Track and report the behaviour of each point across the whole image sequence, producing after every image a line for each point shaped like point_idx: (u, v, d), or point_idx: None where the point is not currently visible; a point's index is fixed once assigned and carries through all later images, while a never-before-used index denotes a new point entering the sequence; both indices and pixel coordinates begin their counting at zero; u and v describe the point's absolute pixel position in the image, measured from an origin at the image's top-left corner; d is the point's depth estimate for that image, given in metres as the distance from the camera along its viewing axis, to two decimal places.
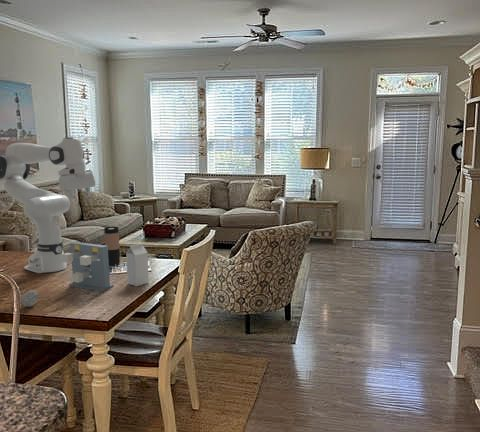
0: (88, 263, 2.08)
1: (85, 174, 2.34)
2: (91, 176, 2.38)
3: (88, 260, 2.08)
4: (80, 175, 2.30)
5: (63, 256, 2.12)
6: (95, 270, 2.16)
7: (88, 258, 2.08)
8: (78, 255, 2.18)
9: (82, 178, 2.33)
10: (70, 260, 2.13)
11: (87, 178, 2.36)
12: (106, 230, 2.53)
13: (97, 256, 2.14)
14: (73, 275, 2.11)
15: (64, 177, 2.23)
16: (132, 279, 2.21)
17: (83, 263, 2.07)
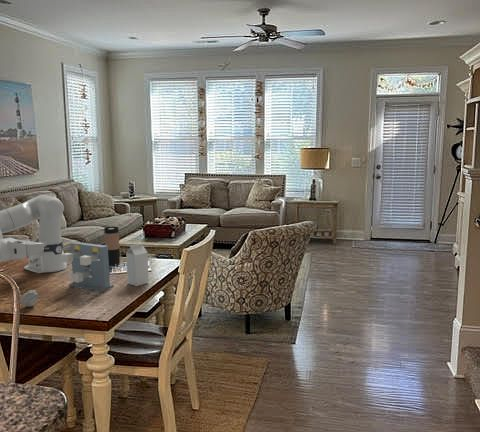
0: (88, 263, 2.08)
1: None
2: None
3: (88, 260, 2.08)
4: None
5: (63, 256, 2.12)
6: (95, 270, 2.16)
7: (88, 258, 2.08)
8: (78, 255, 2.18)
9: None
10: (70, 260, 2.13)
11: None
12: (106, 230, 2.53)
13: (97, 256, 2.14)
14: (73, 275, 2.11)
15: (29, 246, 1.85)
16: (132, 279, 2.21)
17: (83, 263, 2.07)
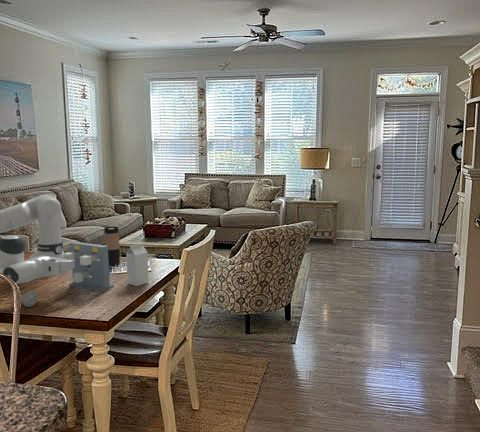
0: (88, 263, 2.08)
1: None
2: None
3: (88, 260, 2.08)
4: None
5: (65, 255, 2.13)
6: (95, 270, 2.16)
7: (88, 258, 2.08)
8: (79, 255, 2.19)
9: None
10: None
11: None
12: (106, 230, 2.53)
13: (97, 256, 2.14)
14: (73, 275, 2.11)
15: (62, 264, 1.99)
16: (132, 279, 2.21)
17: (83, 263, 2.07)
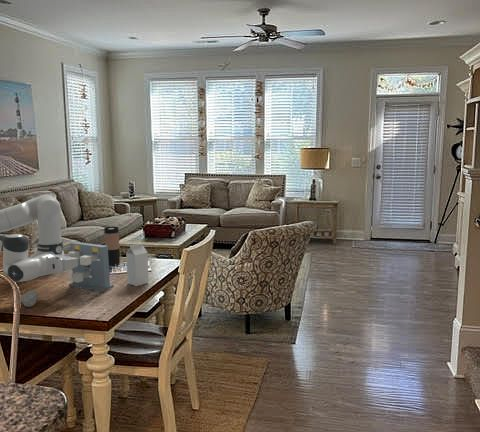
0: (88, 263, 2.08)
1: None
2: None
3: (88, 260, 2.08)
4: None
5: (70, 254, 2.16)
6: (95, 270, 2.16)
7: (88, 258, 2.08)
8: None
9: None
10: None
11: None
12: (106, 230, 2.53)
13: (97, 256, 2.14)
14: (73, 275, 2.11)
15: (66, 262, 2.01)
16: (132, 279, 2.21)
17: (83, 263, 2.07)
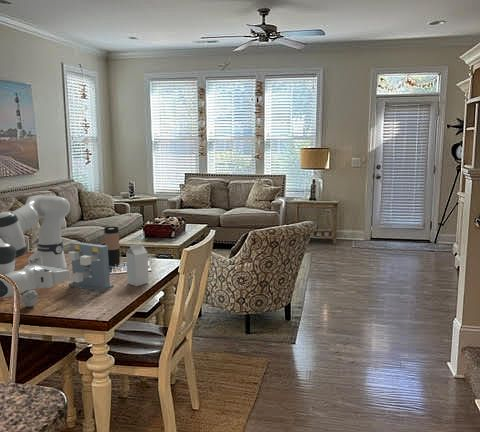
0: (88, 263, 2.08)
1: None
2: None
3: (88, 260, 2.08)
4: None
5: (70, 254, 2.16)
6: (95, 270, 2.16)
7: (88, 258, 2.08)
8: None
9: None
10: (77, 258, 2.16)
11: None
12: (106, 230, 2.53)
13: (97, 256, 2.14)
14: (73, 275, 2.11)
15: (56, 274, 1.83)
16: (132, 279, 2.21)
17: (83, 263, 2.07)
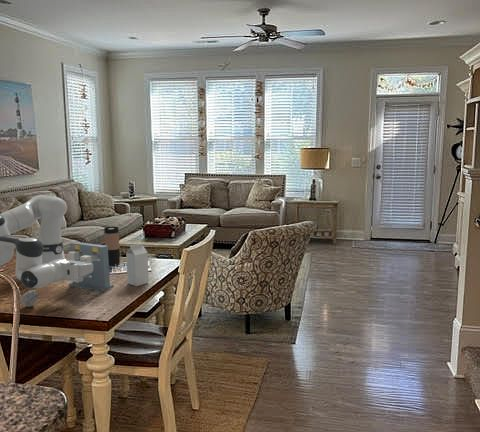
0: None
1: None
2: None
3: (88, 260, 2.08)
4: None
5: (70, 254, 2.16)
6: (95, 270, 2.16)
7: (88, 258, 2.08)
8: None
9: None
10: (77, 258, 2.16)
11: None
12: (106, 230, 2.53)
13: (97, 256, 2.14)
14: None
15: (81, 267, 1.93)
16: (132, 279, 2.21)
17: None
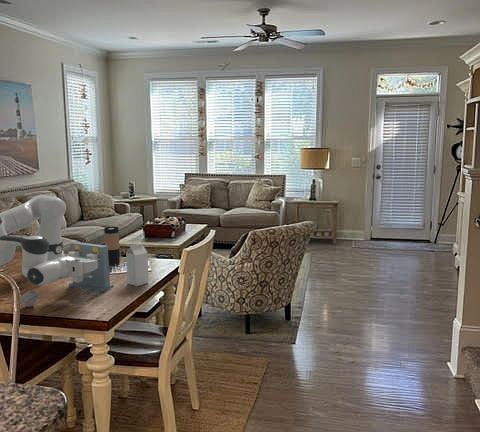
0: None
1: None
2: None
3: (94, 258, 2.11)
4: None
5: (70, 254, 2.16)
6: (95, 270, 2.16)
7: (94, 256, 2.11)
8: None
9: None
10: None
11: None
12: (106, 230, 2.53)
13: None
14: None
15: (86, 264, 1.97)
16: (132, 279, 2.21)
17: None
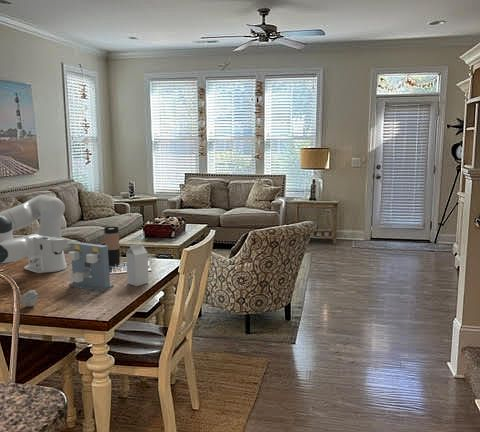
0: (94, 261, 2.11)
1: None
2: None
3: (94, 258, 2.11)
4: None
5: (70, 254, 2.16)
6: (95, 270, 2.16)
7: (94, 256, 2.11)
8: None
9: None
10: (77, 258, 2.16)
11: None
12: (106, 230, 2.53)
13: None
14: (73, 275, 2.11)
15: (55, 242, 1.88)
16: (132, 279, 2.21)
17: (89, 261, 2.11)
